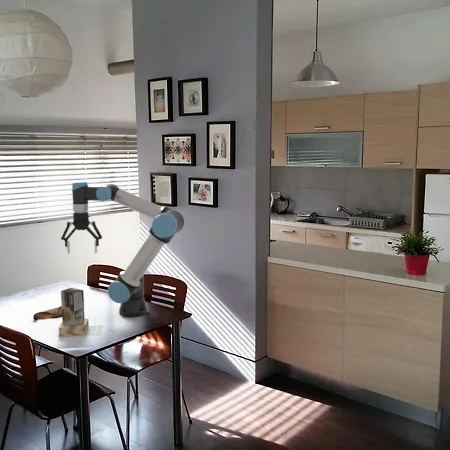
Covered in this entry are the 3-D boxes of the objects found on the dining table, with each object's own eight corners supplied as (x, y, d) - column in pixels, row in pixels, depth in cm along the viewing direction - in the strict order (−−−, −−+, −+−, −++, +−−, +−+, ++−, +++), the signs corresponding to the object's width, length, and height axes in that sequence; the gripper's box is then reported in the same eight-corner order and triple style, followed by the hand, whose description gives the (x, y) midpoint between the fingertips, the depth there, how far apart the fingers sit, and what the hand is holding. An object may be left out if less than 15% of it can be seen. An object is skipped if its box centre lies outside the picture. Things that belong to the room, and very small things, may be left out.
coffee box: (85, 322, 241) (84, 290, 238) (74, 326, 235) (73, 293, 233) (72, 319, 245) (71, 287, 243) (61, 323, 240) (60, 290, 238)
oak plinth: (88, 326, 248) (88, 318, 247) (85, 334, 236) (85, 326, 235) (63, 327, 246) (63, 319, 245) (59, 336, 234) (58, 327, 234)
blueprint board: (103, 327, 250) (103, 324, 250) (100, 336, 236) (100, 334, 236) (61, 328, 247) (61, 326, 247) (56, 339, 233) (56, 336, 233)
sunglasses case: (43, 322, 256) (38, 310, 257) (36, 327, 260) (31, 315, 261) (72, 313, 270) (67, 302, 272) (65, 318, 274) (60, 306, 276)
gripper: (106, 210, 262) (107, 250, 265) (56, 211, 258) (58, 252, 261) (105, 212, 254) (106, 253, 257) (54, 213, 251) (55, 254, 254)
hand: (82, 252), depth 259 cm, fingers open, 13 cm apart
